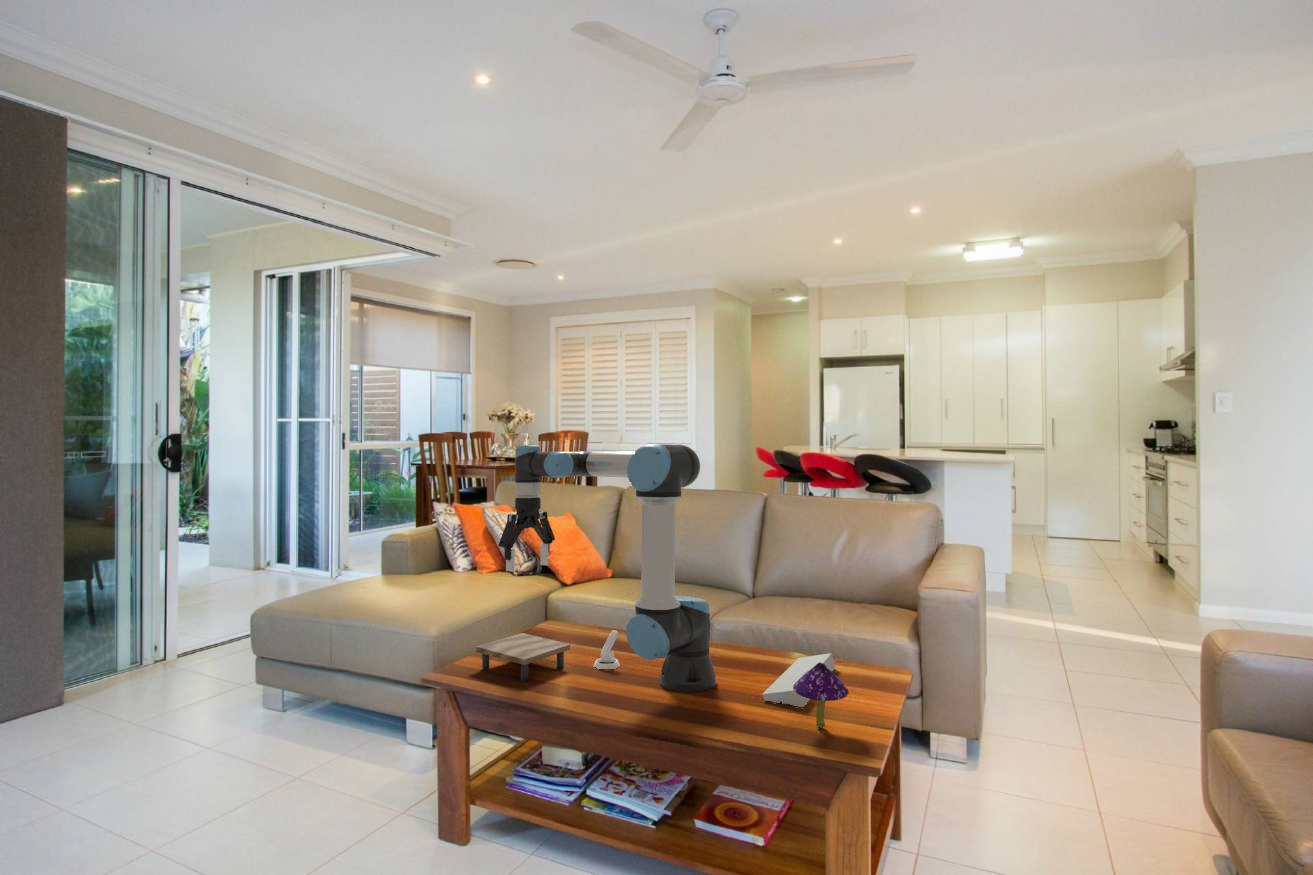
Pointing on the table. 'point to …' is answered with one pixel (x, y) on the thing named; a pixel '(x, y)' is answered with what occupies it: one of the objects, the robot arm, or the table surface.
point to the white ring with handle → (608, 654)
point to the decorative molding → (795, 680)
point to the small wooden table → (523, 651)
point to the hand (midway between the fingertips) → (527, 568)
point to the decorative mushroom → (820, 688)
